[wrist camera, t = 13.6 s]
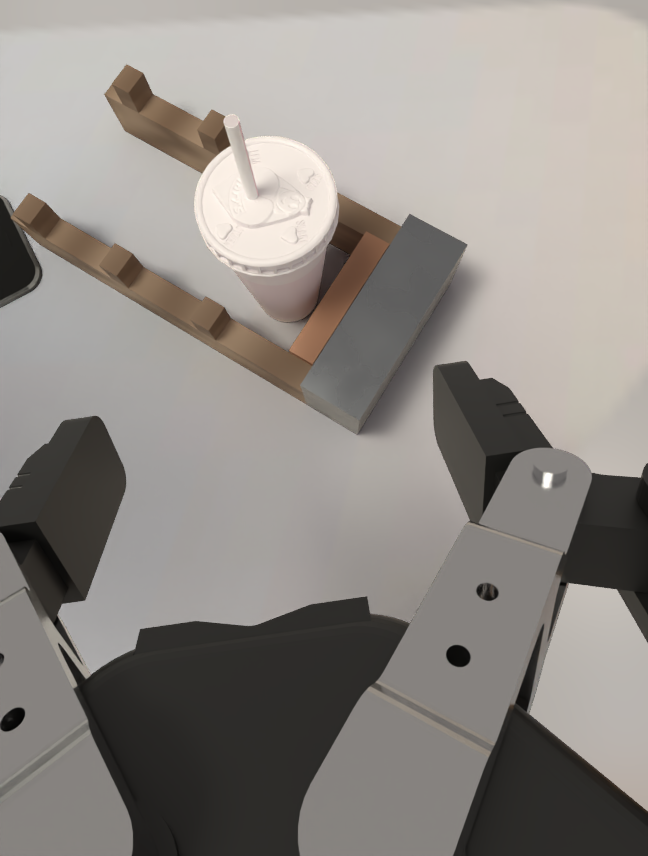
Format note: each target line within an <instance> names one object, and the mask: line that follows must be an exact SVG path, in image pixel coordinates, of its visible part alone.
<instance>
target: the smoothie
mask: <svg viewBox="0 0 648 856" xmlns="http://www.w3.org/2000/svg"><path fill="white" fill-rule="evenodd" d="M224 125H225V129H226V132H227V135H228V138H229V142H230V145H231V146H230V147H228V148H226V149H225V150H223V151H222V152H221V153H220V154H218V155H217V156H216V157H215V158H214V159H213V160H212V161H211V162H210V163H209V165H208V166H207V167H206V169H205V170H204V172H203V174H202V175H201V177H200V180H199V182H198V185H197V188H196V192H195V199H194V209H195V216H196V220H197V224H198V226H199V229H200V232H201V234H202V237H203V239H204V241H205V243H206V245H207V247H208V248H209V250H210V251H211V252H212V253H213V254H214V255H215V256H216V258H217V259H218V260H219V261H221V262H222V263H224V264H225V265H227V266H228V267H230V268H231V269H233V270H234V272H235V273H236V274H237V276H238V277H239V278H240V279H241V281H242V282H243V283H244V285H245V286H246V287H247V289H248V290H249V291H250V293H251V294H252V295H253V296H254V298H255V299H256V300H257V302H258V303H259V304H260V306H261V307H262V308H263V310H264V311H265V312H266V313H267V314H268V315H269V316H270V317H272V318H273V319H275V320H278V321H282V322H294V321H298V320H301V319H303V318H305V317H306V316H307V315H309V314H310V313H311V312H312V310H313V309H314V308H315V306H316V304H317V301H318V296H319V290H320V284H321V278H322V272H323V266H324V260H325V254H326V248H327V245H328V244H329V242H330V241H331V240H332V237H333V235H334V232H335V229H336V227H337V224H338V216H339V202H338V197H337V189H336V184H335V180H334V178H333V175H332V173H331V171H330V169H329V167H328V166H327V164H326V163H325V162H324V160H323V159H322V158H321V157H320V156H319V155H318V154H317V153H316V152H314V151H313V150H312V149H310V148H309V147H307V146H306V145H304V144H302V143H300V142H297V141H295V140H292V139H289V138H284V137H278V136H260V137H254V138H249V139H246V140H244V136H243V133H242V129H241V125H240V121H239V118H238V117H237V116H236V115H234V114H230V115H227V116H226V117H225V118H224Z"/></svg>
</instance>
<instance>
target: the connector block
mask: <svg viewBox="0 0 648 856" xmlns="http://www.w3.org/2000/svg"><path fill="white" fill-rule="evenodd" d="M466 247H467V244H465V243H464V242H462V241H460V240H458V239H456V238H454V237H452V236H450V235H448V234H446V233H445V232H443V231H441V230H439V229H437V228H435V227H433V226H431V225H429V224H428V223H426V222H424V221H422V220H420V219H418V218H416V217H414V216H412V215H411V214H409V216H408V217H407V219H406V220H405V222H404V224H403V225H402V227H401V228H400V230H399V231H398V233H397V234H396V236H395V238H394V239H393V241H392V242H391V244H390V245H389V247H388V249H387V250H386V252H385V253H384V255H383V256H382V258H381V259H380V261H379V263H378V264H377V266H376V267H375V269H374V270H373V272H372V274H371V275H370V277H369V278H368V280H367V281H366V283H365V284H364V286H363V288H362V289H361V291H360V292H359V294H358V295H357V297H356V299H355V300H354V302H353V303H352V305H351V306H350V308H349V309H348V311H347V313H346V314H345V316H344V317H343V319H342V320H341V322H340V324H339V325H338V327H337V328H336V330H335V331H334V333H333V335H332V336H331V338H330V339H329V341H328V342H327V344H326V345H325V347H324V349H323V350H322V352H321V353H320V355H319V356H318V358H317V360H316V361H315V363H314V364H313V366H312V367H311V369H310V370H309V372H308V374H307V375H306V377H305V378H304V380H303V381H302V383H301V385H300V386H301V389H302V392H303V395H304V398H305V401H306V404H307V405H308V406H310V407H312V408H313V409H315V410H317V411H318V412H320V413H322V414H323V415H325V416H327V417H328V418H330V419H332V420H333V421H335V422H337V423H338V424H340V425H342V426H343V427H345V428H347V429H348V430H350V431H352V432H353V433H355V434H357V435H358V433H359V431H360V430H361V428H362V426H363V425H364V423H365V422H366V420H367V418H368V417H369V415H370V413H371V412H372V410H373V409H374V407H375V405H376V404H377V402H378V400H379V399H380V397H381V396H382V394H383V392H384V391H385V389H386V387H387V386H388V384H389V382H390V381H391V379H392V378H393V376H394V374H395V373H396V371H397V369H398V368H399V366H400V365H401V363H402V361H403V360H404V358H405V356H406V355H407V353H408V352H409V350H410V348H411V347H412V345H413V343H414V342H415V340H416V339H417V337H418V335H419V334H420V332H421V330H422V329H423V327H424V326H425V324H426V322H427V321H428V319H429V317H430V316H431V314H432V312H433V311H434V309H435V308H436V306H437V304H438V303H439V301H440V299H441V298H442V296H443V295H444V293H445V291H446V290H447V288H448V286H449V285H450V283H451V281H452V279H453V276H454V274H455V272H456V270H457V267H458V265H459V263H460V261H461V258H462V256H463V254H464V252H465V249H466Z"/></svg>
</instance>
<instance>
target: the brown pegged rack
mask: <svg viewBox="0 0 648 856" xmlns="http://www.w3.org/2000/svg"><path fill="white" fill-rule="evenodd" d="M104 95H105V97H106V98H107V100H108V102H109V104H110V105H111V107H112V109H113V111H114V112H115V114H116V116H117V118H118V119H119V121H120V123H121V125H122V126H123V128H124V130H125V131H126V132H128V133H130V134H132V135H133V136H135V137H137V138H139V139H141V140H143V141H144V142H146V143H148V144H150V145H152V146H154V147H155V148H157V149H159V150H161V151H163V152H164V153H166V154H168V155H170V156H172V157H174V158H175V159H177V160H179V161H181V162H183V163H184V164H186V165H188V166H190V167H192V168H194V169H195V170H197V171H199V172H201V173H203V172H204V170H205V169H206V167H207V166H208V165H209V163H210V162H211V161H212V160H213V159H214V158H215V157H216V156H217V155H218V154H220V153H221V152H222V151H223V150H225V149H226V148H228V147H230V146H231V145H230V142H229V138H228V135H227V132H226V129H225V125H224V118H225V116H223V115H221V114H219V113H218V112H216V111H214V110H211V111H210V112H209V114H208V115H207V117H206V118H205V119H204V121H202V120H200V119H198V118H197V117H195V116H193V115H191V114H189V113H187V112H185V111H183V110H182V109H180V108H178V107H176V106H174V105H172V104H170V103H168V102H167V101H165V100H163V99H161V98H159V97H157V96H155V95H153V93H152V91H151V89H150V87H149V85H148V82H147V80H146V78H145V76H144V74H143V73H142V72H140V71H138V70H136V69H134V68H132V67H131V66H129V65H126V66H125V67H124V69H123V70H122V71H121V72H120V74H119V75H118V76H117V78H116V79H115V80H114V82H113V83H112V85H111V86H110V88H109V89H108V90H107V92H106V93H105V94H104ZM337 197H338V202H339V216H338V224H337V227H336V229H335V232H334V235H333V237H332V240H331V241H330V242H329V243H330V244H332V245H334V246H336V247H337V248H339V249H341V250H343V251H345V252H347V253H348V254H350V257H349V259H348V260H347V262H346V263H345V265H344V266H343V268H342V269H341V271H340V272H339V274H338V276H337V277H336V279H335V280H334V282H333V283H332V285H331V286H330V288H329V289H328V291H327V292H326V294H325V296H324V297H323V299H322V300H321V302H320V303H319V305H318V306H317V308H316V309H315V311H314V312H313V314H312V316H311V317H310V319H309V320H308V322H307V323H306V325H305V326H304V328H303V329H302V331H301V332H300V334H299V336H298V337H297V339H296V340H295V342H294V343H293V345H292V346H291V348H290V349H289V352H290V353H289V352H287V351H286V350H284V349H282V348H280V347H279V346H277V345H275V344H274V343H272V342H270V341H269V340H267V339H265V338H263V337H262V336H260V335H258V334H257V333H255V332H253V331H251V330H250V329H248V328H246V327H245V326H243V325H241V324H240V323H238V322H236V321H234V320H233V319H231V318H230V316H229V314H228V313H227V311H226V309H225V308H224V307H223V306H221V305H219V304H218V303H216V302H214V301H213V300H211V299H209V298H207V297H205V298H204V300H203V301H200V300H199V299H197V298H195V297H194V296H192V295H190V294H188V293H187V292H185V291H183V290H182V289H180V288H178V287H177V286H175V285H173V284H171V283H170V282H168V281H166V280H165V279H163V278H161V277H160V276H158V275H156V274H154V273H153V272H151V271H149V270H148V269H146V268H144V267H143V266H142V265H141V264H140V262H139V261H138V260H137V259H136V257H135V256H134V255H133V254H132V253H131V252H129V251H127V250H125V249H124V248H122V247H120V246H119V245H117V244H114V245H113V247H112V248H110V247H108V246H107V245H105V244H103V243H102V242H100V241H98V240H96V239H95V238H93V237H91V236H90V235H88V234H86V233H85V232H83V231H81V230H79V229H78V228H76V227H74V226H73V225H71V224H69V223H68V222H66V221H64V220H62V219H61V218H60V217H59V216H58V215H57V214H56V213H55V212H54V211H53V210H52V209H51V208H50V207H49V206H48V205H47V204H46V203H45V202H43V201H42V200H40V199H38V198H37V197H35V196H33V195H31V194H30V193H28V195H27V196H26V197H25V199H24V200H23V201H22V203H21V204H20V205H19V206H18V208H17V209H16V210H15V212H14V213H13V215H12V216H11V219H12V220H13V221H14V222H15V223H16V224H18V225H19V226H20V227H21V228H22V229H23V230H24V231H25V232H26V233H28V234H29V235H30V236H31V237H32V238H33V239H34V240H35V241H36V242H38V243H39V244H40V245H41V246H43V247H45V248H46V249H48V250H50V251H51V252H53V253H55V254H56V255H58V256H60V257H61V258H63V259H65V260H66V261H68V262H70V263H71V264H73V265H75V266H76V267H78V268H80V269H81V270H83V271H85V272H86V273H88V274H90V275H91V276H93V277H95V278H96V279H98V280H100V281H101V282H103V283H105V284H106V285H108V286H110V287H111V288H113V289H115V290H116V291H118V292H120V293H121V294H123V295H125V296H126V297H128V298H130V299H131V300H133V301H135V302H136V303H138V304H140V305H142V306H143V307H145V308H147V309H148V310H150V311H152V312H153V313H155V314H157V315H158V316H160V317H162V318H163V319H165V320H167V321H168V322H170V323H172V324H173V325H175V326H177V327H178V328H180V329H182V330H183V331H185V332H187V333H188V334H190V335H192V336H193V337H195V338H197V339H198V340H200V341H202V342H203V343H205V344H207V345H208V346H210V347H212V348H213V349H215V350H217V351H218V352H220V353H222V354H223V355H225V356H227V357H228V358H230V359H232V360H233V361H235V362H237V363H238V364H240V365H242V366H243V367H245V368H247V369H248V370H250V371H252V372H253V373H255V374H257V375H258V376H260V377H262V378H263V379H265V380H267V381H268V382H270V383H272V384H273V385H275V386H277V387H278V388H280V389H282V390H283V391H285V392H287V393H288V394H290V395H292V396H293V397H295V398H297V399H298V400H300V401H302V402H303V403H305V404H306V401H305V398H304V395H303V392H302V389H301V386H300V385H301V383H302V381H303V380H304V378H305V377H306V375H307V374H308V372H309V370H310V369H311V367H312V366H313V364H314V363H315V361H316V360H317V358H318V356H319V355H320V353H321V352H322V350H323V349H324V347H325V345H326V344H327V342H328V341H329V339H330V338H331V336H332V335H333V333H334V331H335V330H336V328H337V327H338V325H339V324H340V322H341V320H342V319H343V317H344V316H345V314H346V313H347V311H348V309H349V308H350V306H351V305H352V303H353V302H354V300H355V299H356V297H357V295H358V294H359V292H360V291H361V289H362V288H363V286H364V284H365V283H366V281H367V280H368V278H369V277H370V275H371V274H372V272H373V270H374V269H375V267H376V266H377V264H378V263H379V261H380V259H381V258H382V256H383V255H384V253H385V252H386V250H387V249H388V247H389V245H390V244H391V242H392V241H393V239H394V238H395V236H396V234H397V233H398V231H399V230H400V228H401V226H399V225H397V224H395V223H393V222H392V221H390V220H388V219H386V218H384V217H382V216H380V215H378V214H377V213H375V212H373V211H371V210H369V209H367V208H365V207H363V206H362V205H360V204H358V203H356V202H354V201H352V200H350V199H348V198H347V197H345V196H343V195H341V194H339V193H337Z"/></svg>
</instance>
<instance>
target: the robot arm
mask: <svg viewBox="0 0 648 856" xmlns="http://www.w3.org/2000/svg"><path fill="white" fill-rule="evenodd" d="M433 415H434V430H435V436H436V440H437V443H438V446H439V449H440V451H441V453H442V456H443V458H444V460H445V463H446V465H447V467H448V470H449V472H450V474H451V477H452V479H453V481H454V484H455V486H456V488H457V491H458V493H459V495H460V498H461V500H462V502H463V505H464V507H465V509H466V512H467V514H468V516H469V519H470V521H469V522H468V523H467V524H466V525H465V526H464V528H463V529H462V531H461V533H460V535H459V536H458V538H457V540H456V542H455V544H454V545H453V547H452V549H451V551H450V553H449V554H448V556H447V558H446V560H445V562H444V564H443V565H442V567H441V569H440V571H439V573H438V574H437V576H436V578H435V580H434V582H433V583H432V585H431V587H430V589H429V591H428V592H427V594H426V596H425V598H424V600H423V601H422V603H421V605H420V607H419V609H418V610H417V612H416V614H415V616H414V618H413V619H412V621H411V623H408V622H405V621H402V620H399V619H396V618H392V617H388V616H383V615H376V614H370V611H369V605H368V599H367V597H360V598H353V599H346V600H339V601H332V602H325V603H318V604H311V605H309V606H306V607H303V608H301V609H298V610H295V611H293V612H290V613H287V614H285V615H282V616H279V617H277V618H274V619H272V620H269V621H266V622H264V623H261V624H258V625H255V626H241V625H230V624H220V623H209V622H199V621H194V622H187V623H180V624H173V625H166V626H159V627H152V628H145V629H140V632H139V636H138V640H137V644H136V648H135V649H134V650H132V651H130V652H128V653H126V654H124V655H122V656H120V657H117V658H116V659H114V660H112V661H111V662H109V663H107V664H106V665H104V666H103V667H101V668H100V669H98V670H97V671H96V672H94V673H93V674H92V675H91V673H90V672H89V670H88V668H87V666H86V664H85V662H84V660H83V658H82V656H81V655H80V653H79V651H78V649H77V647H76V645H75V643H74V641H73V640H72V638H71V636H70V634H69V632H68V630H67V628H66V626H65V624H64V623H63V621H62V620H61V618H60V617H59V615H58V612H59V609H60V607H61V605H62V604H64V603H71V602H78V601H84V600H85V599H86V597H87V594H88V591H89V588H90V586H91V583H92V580H93V578H94V575H95V572H96V569H97V567H98V564H99V561H100V558H101V556H102V553H103V550H104V547H105V545H106V542H107V539H108V536H109V534H110V531H111V528H112V525H113V523H114V520H115V517H116V514H117V512H118V509H119V506H120V504H121V501H122V498H123V495H124V493H125V489H126V475H125V470H124V467H123V464H122V462H121V460H120V458H119V455H118V453H117V451H116V449H115V447H114V444H113V442H112V440H111V438H110V436H109V433H108V431H107V429H106V427H105V425H104V423H103V421H102V420H101V419H100V418H99V417H98V416H91V417H84V418H78V419H71V420H65V421H63V422H62V423H61V424H60V426H59V427H58V429H57V431H56V432H55V434H54V436H53V437H52V439H51V440H50V442H49V444H44V445H43V446H42V447H41V448H40V449H39V450H37V451H36V452H35V453H34V454H33V455H31V456H30V457H29V458H28V459H27V460H26V462H25V463H24V465H23V467H22V468H21V470H20V471H19V473H18V474H17V475H18V477H15V479H14V480H13V482H12V484H11V485H10V487H9V488H10V490H7V491H6V493H5V494H4V496H3V497H2V499H1V501H0V856H648V811H646V810H645V809H644V808H643V807H642V806H640V805H639V804H638V803H637V802H635V801H634V800H633V799H632V798H631V797H629V796H628V795H627V794H626V793H625V792H623V791H622V790H621V789H620V788H618V787H617V786H616V785H615V784H614V783H612V782H611V781H610V780H609V779H607V778H606V777H605V776H604V775H603V774H601V773H600V772H599V771H598V770H597V769H595V768H594V767H593V766H592V765H590V764H589V763H588V762H587V761H586V760H584V759H583V758H582V757H581V756H579V755H578V754H577V753H576V752H575V751H573V750H572V749H571V748H570V747H569V746H567V745H566V744H565V743H564V742H562V741H561V740H560V739H558V737H556V736H555V735H554V734H553V733H551V732H550V731H549V730H548V729H547V728H545V727H544V726H543V725H542V724H540V723H539V722H538V721H537V720H536V719H534V718H533V717H532V716H531V715H529V712H530V710H531V706H532V703H533V700H534V697H535V693H536V690H537V686H538V682H539V678H540V675H541V670H542V667H543V663H544V660H545V656H546V653H547V650H548V647H549V644H550V641H551V637H552V634H553V631H554V628H555V625H556V622H557V619H558V616H559V613H560V610H561V606H562V604H563V600H564V597H565V594H566V591H567V588H568V585H569V583H574V584H581V585H589V586H596V587H604V588H611V589H617V590H618V592H619V593H620V595H621V597H622V599H623V600H624V602H625V604H626V606H627V607H628V609H629V611H630V613H631V614H632V616H633V618H634V619H635V621H636V623H637V625H638V627H639V628H640V630H641V632H642V633H643V635H644V637H645V639H646V640H647V642H648V463H647V464H646V466H645V467H644V470H643V473H642V476H641V478H638V477H623V476H609V475H600V474H595V473H591V471H590V469H589V467H588V465H587V464H586V463H585V462H584V461H583V460H581V459H580V458H579V457H577V456H575V455H573V454H571V453H569V452H566V451H563V450H559V449H554V448H552V446H551V445H550V443H549V442H548V441H547V439H546V438H545V437H544V435H543V434H542V432H541V431H540V430H539V428H538V427H537V426H536V424H535V423H534V422H533V420H532V419H531V417H530V416H529V415H528V414H526V411H525V409H524V408H523V406H522V405H521V404H520V403H518V400H517V398H516V397H515V395H514V394H513V393H512V391H511V390H510V389H509V388H508V387H507V386H505V385H503V384H501V383H500V382H498V381H496V380H495V379H493V378H488V379H482V380H479V378H478V377H477V375H476V374H475V372H474V371H473V369H472V367H471V366H470V364H469V363H468V362H467V361H462V362H455V363H449V364H442V365H436V366H435V367H434V370H433Z"/></svg>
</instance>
